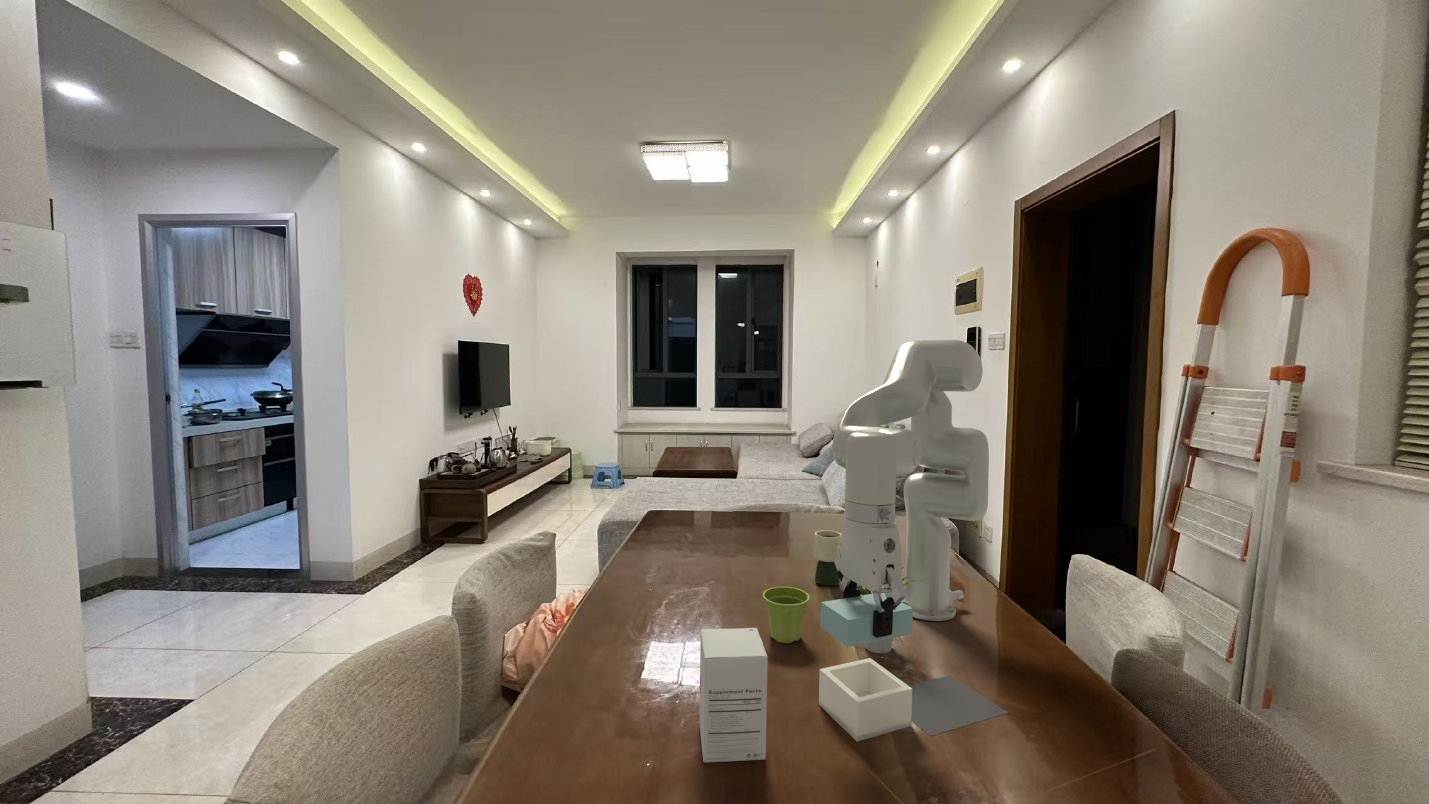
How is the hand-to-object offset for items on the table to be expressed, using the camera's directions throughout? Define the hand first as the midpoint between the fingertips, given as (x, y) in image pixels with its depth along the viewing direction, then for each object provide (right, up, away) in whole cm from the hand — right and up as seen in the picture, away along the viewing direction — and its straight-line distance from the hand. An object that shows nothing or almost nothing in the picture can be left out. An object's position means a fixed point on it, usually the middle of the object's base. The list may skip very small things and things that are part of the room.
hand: (866, 624), depth 88 cm
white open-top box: (0, -15, +1) cm, 15 cm away
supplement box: (-21, -15, -6) cm, 27 cm away
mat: (+13, -15, +4) cm, 20 cm away
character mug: (+5, -12, +57) cm, 59 cm away
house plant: (+10, -14, +23) cm, 29 cm away
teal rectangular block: (0, -1, 0) cm, 1 cm away
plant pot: (-9, -14, +27) cm, 32 cm away
